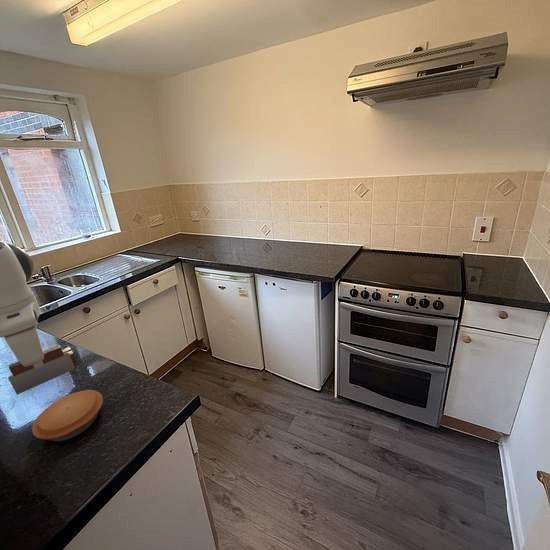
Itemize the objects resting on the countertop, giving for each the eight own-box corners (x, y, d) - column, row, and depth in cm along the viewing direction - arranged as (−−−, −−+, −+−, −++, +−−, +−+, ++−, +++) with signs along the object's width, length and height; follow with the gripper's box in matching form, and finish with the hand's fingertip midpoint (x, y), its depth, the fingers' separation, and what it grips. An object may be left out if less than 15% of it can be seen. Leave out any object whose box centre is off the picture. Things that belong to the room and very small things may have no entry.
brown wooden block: (17, 396, 69) (3, 370, 66) (16, 392, 70) (3, 367, 67) (76, 369, 76) (65, 345, 73) (74, 367, 77) (64, 343, 75)
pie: (22, 441, 73) (14, 426, 72) (80, 395, 87) (74, 382, 85) (65, 457, 68) (57, 441, 66) (119, 406, 81) (114, 391, 80)
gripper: (-5, 304, 72) (19, 352, 77) (-4, 334, 57) (25, 391, 62) (28, 295, 75) (48, 341, 80) (36, 320, 61) (60, 375, 66)
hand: (38, 363), depth 71 cm, fingers closed on brown wooden block, 2 cm apart
